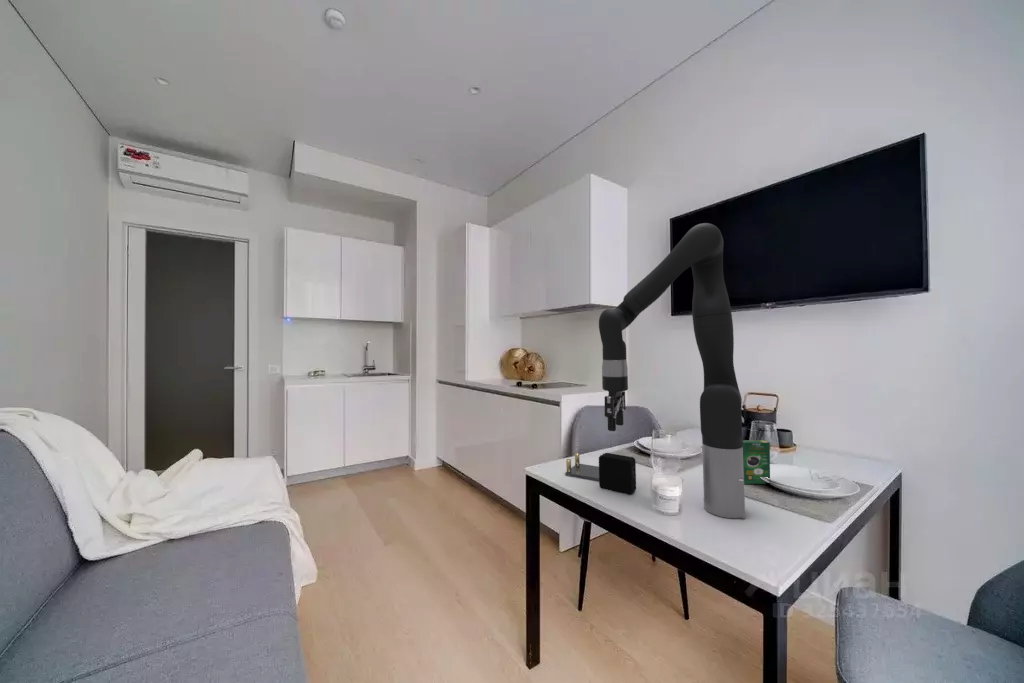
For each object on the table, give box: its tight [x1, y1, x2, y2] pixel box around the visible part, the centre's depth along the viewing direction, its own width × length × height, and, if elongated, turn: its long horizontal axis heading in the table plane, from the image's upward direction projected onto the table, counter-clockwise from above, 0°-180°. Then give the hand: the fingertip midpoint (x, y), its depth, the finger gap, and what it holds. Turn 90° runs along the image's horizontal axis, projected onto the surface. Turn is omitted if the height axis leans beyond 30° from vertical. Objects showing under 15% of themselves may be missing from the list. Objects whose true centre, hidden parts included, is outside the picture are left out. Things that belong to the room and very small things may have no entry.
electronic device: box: [598, 452, 637, 496], centre depth 111 cm, size 4×10×10 cm, turn 53°
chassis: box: [565, 452, 599, 483], centre depth 124 cm, size 15×11×5 cm
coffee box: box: [743, 439, 771, 485], centre depth 114 cm, size 8×3×13 cm, turn 87°
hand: (616, 427), depth 111 cm, fingers open, 8 cm apart
